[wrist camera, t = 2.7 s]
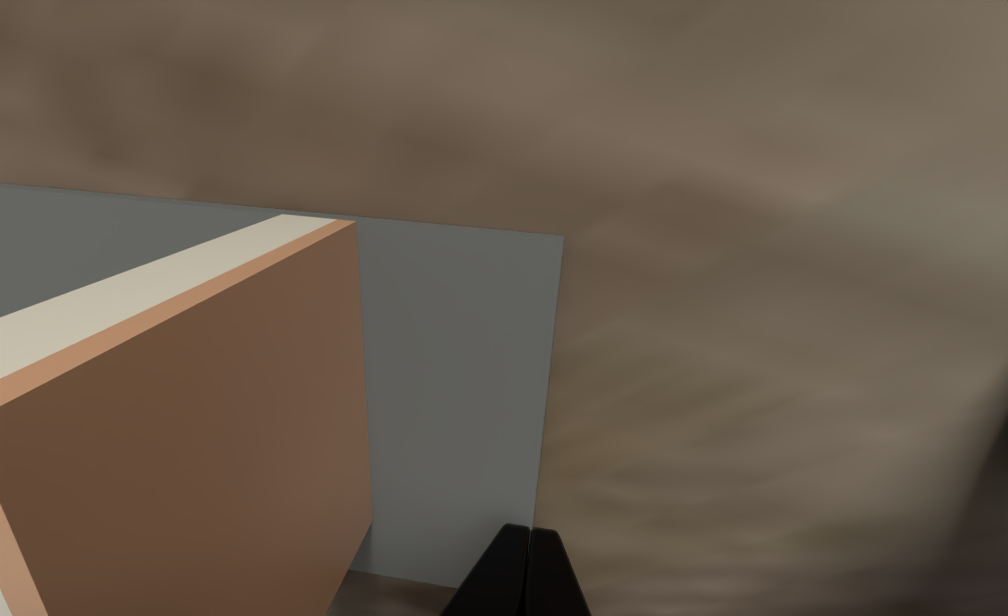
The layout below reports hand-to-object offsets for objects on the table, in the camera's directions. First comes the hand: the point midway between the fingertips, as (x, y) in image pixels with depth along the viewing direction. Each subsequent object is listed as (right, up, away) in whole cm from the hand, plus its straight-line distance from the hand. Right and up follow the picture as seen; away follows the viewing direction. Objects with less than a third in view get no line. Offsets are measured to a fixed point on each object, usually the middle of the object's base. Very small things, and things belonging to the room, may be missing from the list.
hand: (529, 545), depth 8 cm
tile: (-4, +2, +4) cm, 6 cm away
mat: (-6, +1, +5) cm, 8 cm away
